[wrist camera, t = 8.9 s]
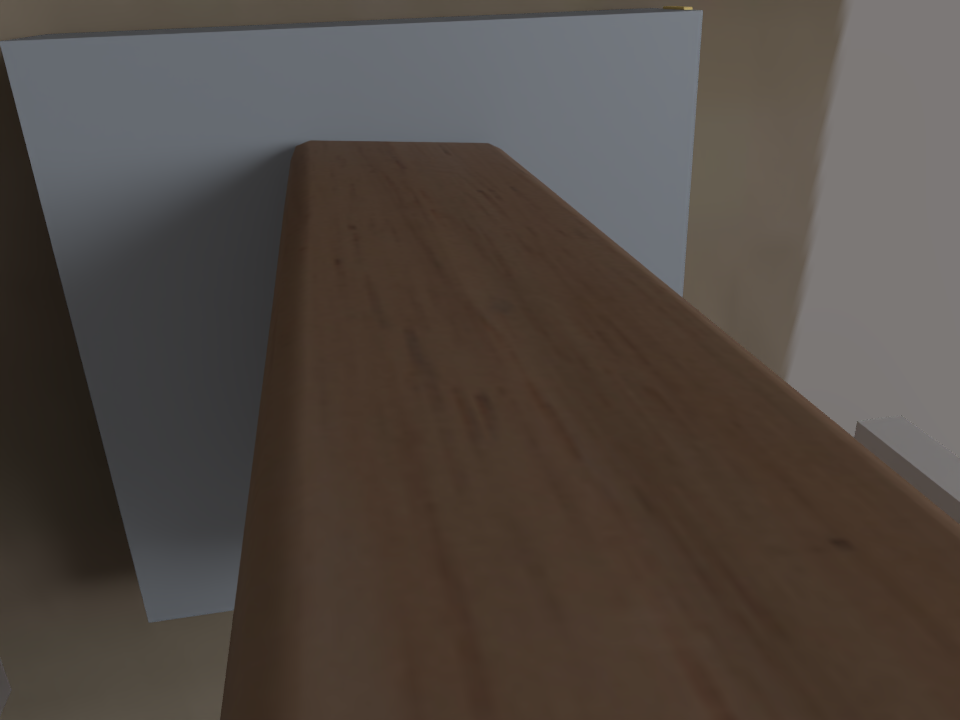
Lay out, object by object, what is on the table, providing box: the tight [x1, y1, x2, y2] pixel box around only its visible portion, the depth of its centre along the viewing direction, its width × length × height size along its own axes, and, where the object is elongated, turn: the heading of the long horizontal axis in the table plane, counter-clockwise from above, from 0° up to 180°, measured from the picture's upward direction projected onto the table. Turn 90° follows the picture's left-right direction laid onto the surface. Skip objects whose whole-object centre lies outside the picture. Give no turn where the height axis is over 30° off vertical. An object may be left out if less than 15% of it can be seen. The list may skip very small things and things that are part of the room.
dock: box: [0, 6, 703, 623], centre depth 21 cm, size 14×14×3 cm
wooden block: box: [220, 140, 960, 720], centre depth 11 cm, size 9×4×18 cm, turn 178°
